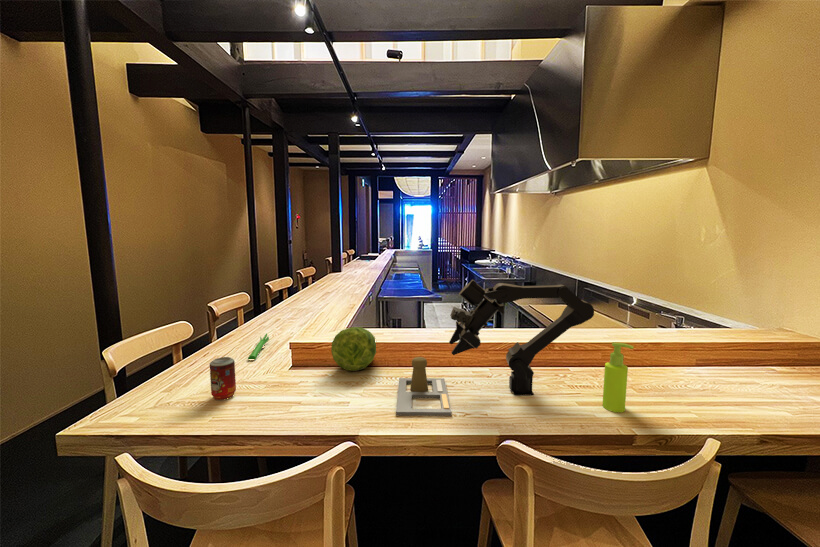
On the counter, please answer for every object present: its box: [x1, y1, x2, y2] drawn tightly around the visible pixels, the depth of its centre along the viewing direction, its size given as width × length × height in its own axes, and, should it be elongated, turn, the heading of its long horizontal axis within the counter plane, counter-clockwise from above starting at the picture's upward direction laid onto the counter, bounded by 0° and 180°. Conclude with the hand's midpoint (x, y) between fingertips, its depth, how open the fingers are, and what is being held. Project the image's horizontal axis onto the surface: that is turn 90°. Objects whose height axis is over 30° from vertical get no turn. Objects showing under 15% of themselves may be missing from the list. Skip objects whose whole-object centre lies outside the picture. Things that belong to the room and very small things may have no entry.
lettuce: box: [330, 326, 377, 372], centre depth 140 cm, size 17×23×16 cm
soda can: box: [209, 356, 237, 401], centre depth 112 cm, size 7×7×12 cm
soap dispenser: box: [601, 342, 635, 413], centre depth 104 cm, size 6×7×20 cm
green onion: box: [247, 333, 270, 360], centre depth 159 cm, size 5×3×30 cm
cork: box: [410, 356, 429, 392], centre depth 117 cm, size 6×6×11 cm
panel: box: [395, 377, 452, 417], centre depth 112 cm, size 16×24×2 cm, turn 179°
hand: (451, 348), depth 118 cm, fingers open, 9 cm apart
